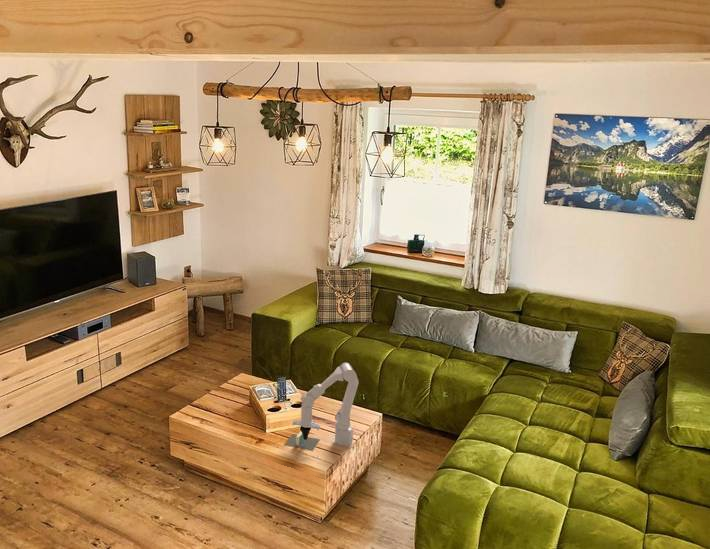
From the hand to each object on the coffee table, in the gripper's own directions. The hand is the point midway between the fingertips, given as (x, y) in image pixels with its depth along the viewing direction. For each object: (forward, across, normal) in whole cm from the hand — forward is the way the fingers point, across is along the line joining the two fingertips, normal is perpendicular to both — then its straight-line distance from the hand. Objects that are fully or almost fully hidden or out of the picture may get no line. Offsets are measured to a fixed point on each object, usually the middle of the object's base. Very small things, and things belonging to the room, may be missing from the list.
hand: (305, 438), depth 328 cm
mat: (+3, +2, -1) cm, 4 cm away
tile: (+3, +3, 0) cm, 4 cm away
